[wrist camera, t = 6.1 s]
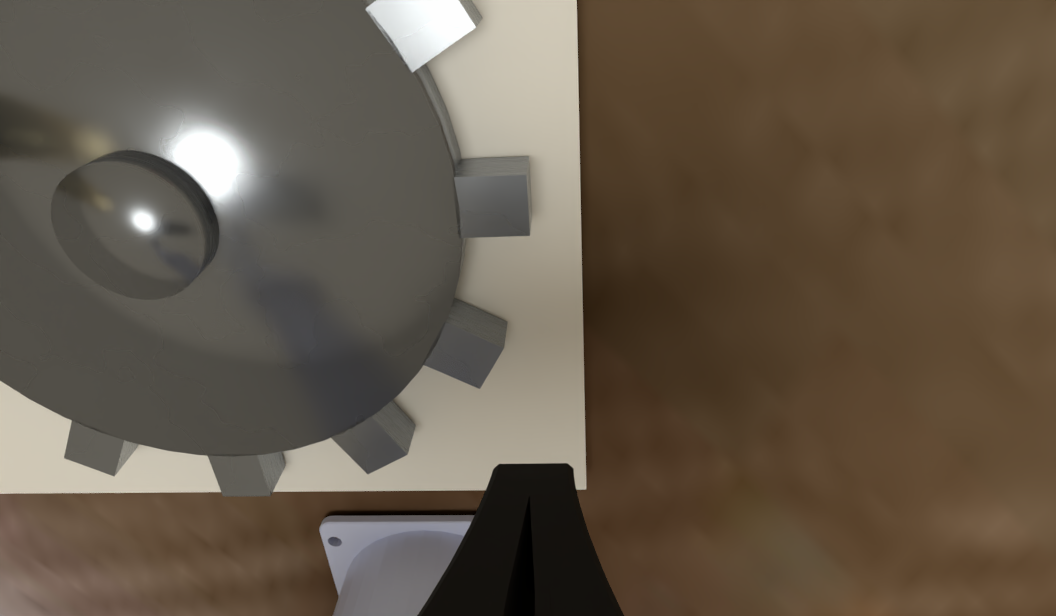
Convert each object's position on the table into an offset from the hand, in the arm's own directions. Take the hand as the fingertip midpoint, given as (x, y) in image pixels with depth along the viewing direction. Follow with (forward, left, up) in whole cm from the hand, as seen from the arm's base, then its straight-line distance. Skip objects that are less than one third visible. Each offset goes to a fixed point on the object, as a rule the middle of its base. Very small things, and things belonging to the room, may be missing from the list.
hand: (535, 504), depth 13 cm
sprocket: (+3, +10, -8) cm, 13 cm away
